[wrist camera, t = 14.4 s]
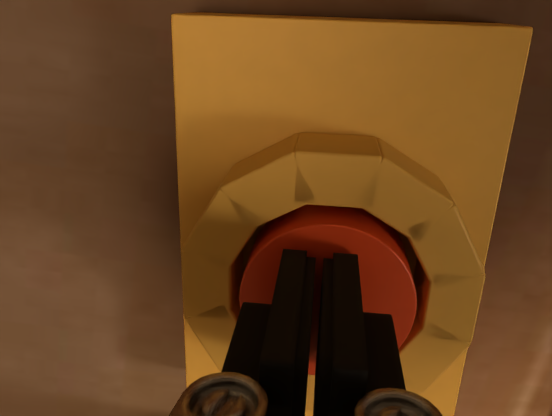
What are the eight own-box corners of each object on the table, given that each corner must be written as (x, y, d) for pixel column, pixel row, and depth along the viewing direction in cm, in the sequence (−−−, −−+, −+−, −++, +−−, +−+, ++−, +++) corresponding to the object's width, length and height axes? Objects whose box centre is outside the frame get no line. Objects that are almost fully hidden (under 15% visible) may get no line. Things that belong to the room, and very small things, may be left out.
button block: (503, 23, 13) (569, 31, 9) (434, 397, 18) (460, 503, 14) (194, 12, 14) (142, 15, 10) (204, 374, 18) (170, 468, 15)
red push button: (417, 201, 12) (429, 231, 11) (397, 340, 14) (405, 385, 12) (252, 190, 13) (239, 217, 11) (249, 327, 14) (238, 368, 13)
